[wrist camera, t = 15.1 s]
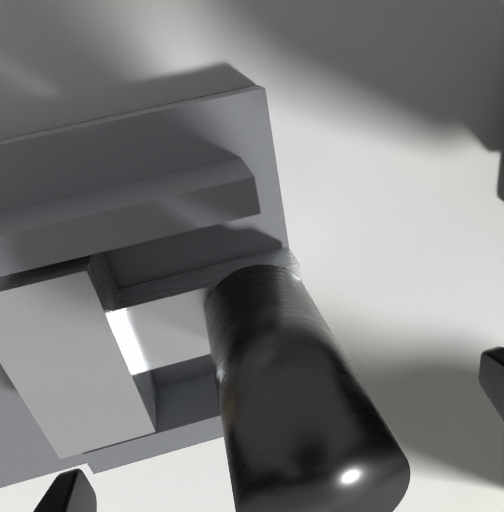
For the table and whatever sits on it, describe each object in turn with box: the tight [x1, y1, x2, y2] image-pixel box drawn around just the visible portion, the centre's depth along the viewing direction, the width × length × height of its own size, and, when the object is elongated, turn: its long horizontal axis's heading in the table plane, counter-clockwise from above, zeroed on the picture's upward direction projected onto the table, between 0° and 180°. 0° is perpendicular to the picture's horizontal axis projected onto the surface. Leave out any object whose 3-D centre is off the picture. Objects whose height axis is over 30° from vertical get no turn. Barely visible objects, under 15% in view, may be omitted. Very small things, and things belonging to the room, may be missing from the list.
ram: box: [0, 247, 410, 512], centre depth 10 cm, size 9×6×7 cm
